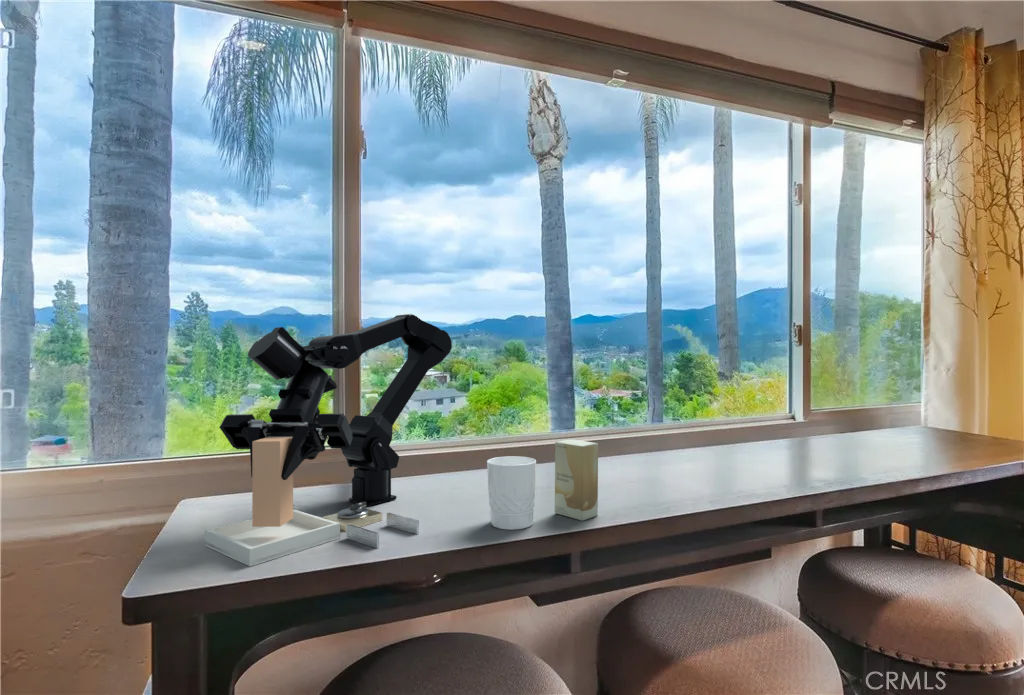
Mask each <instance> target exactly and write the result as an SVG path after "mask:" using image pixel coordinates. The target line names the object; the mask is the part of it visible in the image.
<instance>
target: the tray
mask: <svg viewBox="0 0 1024 695" xmlns="http://www.w3.org/2000/svg"><path fill="white" fill-rule="evenodd" d="M339 539H341V530H340V523H338V522H334V521H331V520H327V519H324V518H323V517H320V516H318V515H317V516H316V515H314V514H310V513H307V512H303V511H300V510H297V509H294V508H293V519H291V520H290V521H288V522H286V523H285V524H283V525H282V526H280V527H252V518H249V519H245V520H239V521H235V522H233V523H228V524H225V525H220V526H216V527H212V528H211V527H210V528H206V529H205V530H204V547H207V548H209V549H212V550H214V551H216V552H217V553H220V554H221V555H225V556H227V558H228V557H229V558H231V559H233V560H235V561H237V562H240V563H242V564H244V565H246V566H248V567H254V566H256V565H260V564H263V563H265V562H269V561H272V560H275V559H278V558H281V557H285V556H287V555H288V556H289V555H291V554H294V553H298V552H301V551H304V550H307V549H311V548H313V547H316V546H320V545H323V544H326V543H330V542H333V541H335V540H336V541H337V540H339Z"/></svg>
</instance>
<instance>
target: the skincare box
mask: <svg viewBox="0 0 1024 695" xmlns="http://www.w3.org/2000/svg"><path fill="white" fill-rule="evenodd" d="M554 444H555V447H554V448H555V449H554V450H555V451H554V513H555V514H557V515H562V516H565V517H568V518H571V519H575V520H578V521H582V522H583V521H585V520H586V521H587V520H589V519H591V518H594V517H597V516H598V514H599V511H598V509H599V505H598V504H599V500H598V499H599V498H598V497H599V494H598V493H599V443H598V442H592V441H587V440H579V439H578V440H577V439H571V438H569V439H563V440H559V441H555V442H554Z"/></svg>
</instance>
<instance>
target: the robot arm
mask: <svg viewBox="0 0 1024 695" xmlns="http://www.w3.org/2000/svg"><path fill="white" fill-rule="evenodd" d="M398 339H401V341H402V343H403V344H404V345H406V346H407V357H406V358H407V359H406V361H405V362H404V363H403V365H402V366H401V368H400V369H399V370H398V373H397V374H396V375H395V377H394V378H393V380H392V381H391V383H390V384H389V385H388V386H387V388H386V389H385V391H384V393H383V394H382V395H381V396H380V398H379V400H378V401H377V403H376V404H375V406H374V407H373V409H371V411H370V413H368V414H367V415H359V414H355V415H354V416H353V417H352V419H351V421H350V423H349V421H348V419H347V417H346V415H345V414H344V413H321V411H320V409H319V406H320V405H319V404H320V402H321V400H322V397H323V394H326V393H328V392H331V391H333V390H336V389H337V388H338V386H337V383H336V381H335V380H334V379H333V377H332V375H331V374H330V375H329V374H328V372H326V371H325V370H328V369H329V370H335V369H336V370H340V369H345V368H347V367H349V366H350V365H352V364H353V363H354V362H356V361H358V360H359V359H360V358H361V357H362V356H363V354H364V353H366V352H368V351H370V350H371V349H375V348H377V347H380V346H383V345H385V344H388V343H390V342H392V341H395V340H398ZM452 344H453V343H452V338H451V337H450V335H449V333H448V332H447V331H446V330H444V329H440V327H439V328H438V326H435V325H434V324H431V323H429V322H427V321H424V320H422V319H421V318H419V317H418V316H416V315H415V314H413V313H408V314H407V313H406V314H397V315H395V316H394V317H392V318H390V319H389V318H388V319H386V320H384V321H383V320H382V321H381V322H378V323H376V324H373V325H370V326H367V327H364V328H361V329H357V330H355V331H353V332H350V333H349V332H348V333H340V334H331V335H325V336H317V337H314V338H312V339H311V340H310V341H309V342H308V344H307V345H304V346H302V345H301V344H300V343H299V342H298V341H296V339H294V337H292V335H291V334H290V333H289V331H287V330H286V328H285V327H283V326H279V327H274V328H273V330H271V331H270V332H269V333H267V334H264V335H263V336H262V337H261V338H260V339H259V340H256V341H255V342H254V343H253V344H252V345H251V347H250V349H249V350H248V353H247V357H248V358H249V359H250V360H252V361H253V362H254V363H255V364H257V366H258V367H259V368H261V369H262V370H263V371H265V372H266V373H267V374H268V375H269V376H270V377H272V378H273V380H278V381H279V380H282V379H284V380H289V381H288V382H287V385H286V387H285V389H284V388H282V389H281V388H280V389H279V391H278V393H277V395H278V397H279V398H280V400H279V403H278V405H277V407H276V408H273V409H271V408H270V411H269V413H268V415H269V417H270V419H271V421H269V422H267V421H265V420H263V419H256V418H255V415H253V414H249V413H247V414H245V413H242V414H238V413H237V414H226V415H225V416H224V418H223V420H222V422H221V424H220V425H219V429H220V431H221V432H222V434H223V435H224V436H225V438H226V439H227V441H228V442H229V444H230V445H231V446H232V448H234V449H236V450H249V454H250V476H251V478H252V441H256V440H259V439H263V438H267V437H292V441H291V444H290V447H289V450H288V453H287V456H286V459H285V462H284V465H283V470H282V475H281V477H282V479H283V480H287V479H288V477H289V476H290V475H291V474H292V473H293V474H294V472H295V471H296V469H298V468H299V466H300V465H301V464H302V463H303V462H304V461H305V460H309V461H311V460H316V458H317V457H318V455H319V453H322V452H324V451H325V450H326V447H325V445H326V443H327V446H329V448H331V449H338V450H339V449H340V450H341V452H342V455H343V456H344V458H345V459H346V462H347V466H348V467H349V468H353V477H352V478H351V497H349V498H348V502H352V503H354V504H356V503H360V502H363V501H365V502H366V504H367V505H366V507H367V506H368V507H369V506H375V505H378V504H382V503H386V502H389V501H393V500H396V499H397V495H394V494H392V469H396V468H398V464H399V460H400V455H398V453H397V452H396V451H395V450H394V449H393V448H392V447H391V446H390V445H391V443H392V441H393V428H394V424H395V423H396V421H397V419H398V418H399V416H400V415H401V413H402V412H403V410H404V409H405V407H406V405H407V404H408V403H409V401H410V399H411V398H412V396H413V395H414V393H415V391H416V390H417V389H418V387H419V386H420V384H421V382H422V381H423V379H424V378H425V376H426V375H427V373H428V372H429V371H430V370H431V369H433V368H435V367H436V366H438V365H439V364H440V363H442V362H443V361H444V359H446V358H447V356H448V355H449V354H450V353H451V351H452V347H453V345H452Z"/></svg>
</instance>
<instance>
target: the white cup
mask: <svg viewBox="0 0 1024 695" xmlns="http://www.w3.org/2000/svg"><path fill="white" fill-rule="evenodd" d="M486 469H487V488H488V490H487V491H488V497H489V498H488V500H489V507H490V508H489V510H490V513H489V514H490V525H491V526H493V527H494V528H496V529H500V530H509V531H510V530H512V531H515V530H523V529H526V528H530V527H531V526H533V523H534V515H535V514H534V511H535V510H534V508H535V505H536V504H535V503H536V502H535V500H536V484H537V483H536V479H537V478H536V476H537V475H536V474H537V460H536V459H535V458H533V457H528V456H517V455H516V456H515V455H513V456H511V455H509V456H498V457H493V458H489V459H487V460H486Z"/></svg>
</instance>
